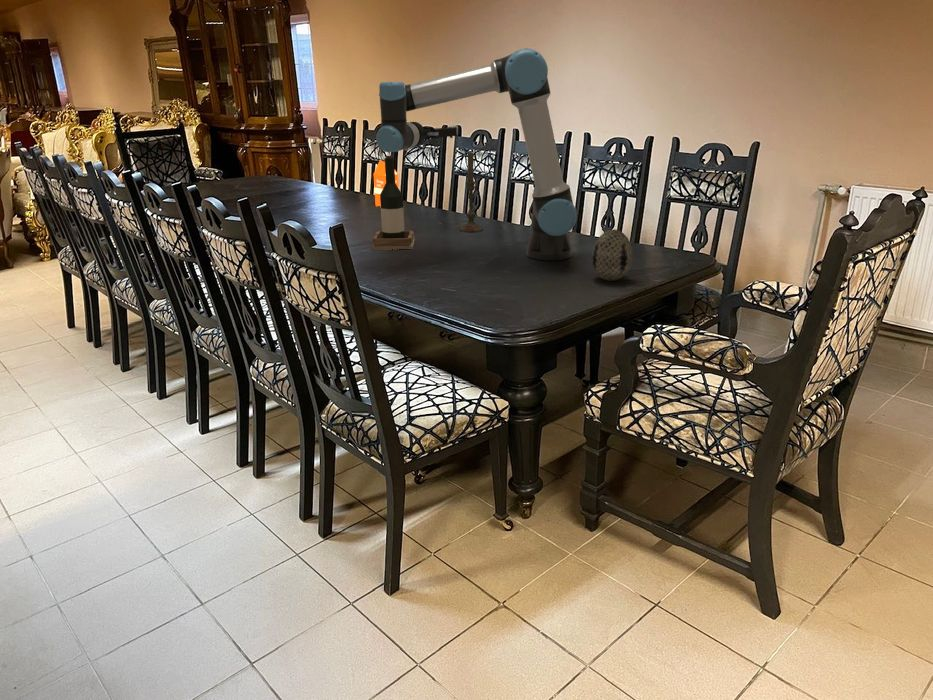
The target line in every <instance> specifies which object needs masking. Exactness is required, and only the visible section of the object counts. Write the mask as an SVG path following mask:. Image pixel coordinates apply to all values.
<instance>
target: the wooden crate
mask: <svg viewBox="0 0 933 700" xmlns="http://www.w3.org/2000/svg"><path fill="white" fill-rule="evenodd" d="M404 231H405V238H383V237H382V230H378V231H376V232H375V234H374V236H373V238H372V243H373V244H372V245H371V251H400V250H399V249H412V250H413V248H414V245H415V242H416V237H415V236H414V235H415V234H414V233H415V232H414V231H413V230H404ZM414 241H415V242H414ZM392 249H393V250H392ZM397 249H398V250H397Z"/></svg>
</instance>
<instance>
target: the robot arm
mask: <svg viewBox="0 0 933 700" xmlns="http://www.w3.org/2000/svg"><path fill="white" fill-rule="evenodd" d="M546 61H547V60H545V58H544V57H543V55H542V54H541V53H540V52H539V51H537V50H536V49H532V48H528V47H527V48H522V49H519V50H516V51H514V52H513V53H511V54H509V55H507V56H503V57H501V58H498V59H495V60H492V61H491V63H490V64H488V65H484V66H480V67H476V68H472V69H468V70H464V71H459V72H455V73H451V74H446V75H443V76H439V77H435V78H430V79H427V80H422V81H417V82H414V83H410V84H405V83H404V82H403V81H382V82H381V81H380V83H379V90H378V91H379V94H378V96H379V105H380V107H379V108H380V118H381V120H380V121H381V122H380V125H381V127H380V128H379V129H378V130H377V133H376V135H375V141H376V143H377V147H378V148H379V149H381V150H382V151H383V152H385V153H397V152H400V151H406V152H407V151H408V150H409V149H411V148H416V147H420V146H421V145H423V143H424V142H425V140H429V139H432V140H433V139H439V138H447V137H448V138H450V139H453V137H457V136H458V134H459V133H458V131H459V130H458V128H459V125H451V126H447V127H440V128H439V127H438V128H434V127H432V126H428V127H426V126H423V125H422V124H421V123H419V122H417V121H408V119H407V112H411V111H414V110H418V109H422V108H427V107H432V106H436V105H440V104H445V103H449V102H454V101H457V100H461V99H465V98H470V97H475V96H478V95H483V94H487V93H491V92H496V93H498V94H502V93H507V92H508V95H509V98H510V103H511V105H512V106H513V107H515V108H517V111H518V114H519V115H518V116H519V119H520V124H521V128H522V132H523V137H524V141H525V146H526V151H527V156H528V159H529V164H530V168H531V173H532V177H533V182H534V188H533V190H532V191H533V192H532V194H531V197H532V229H531V230H532V231H531V235H530V239H529V241H528V244H527V247H526V256H527V257H528V258H531V259H533V260H536V261H537V260H538V261H550V262H551V261H560V260H561V261H562V260H566V259H570V258H571V257H572V256H573V248H572V247H573V246H572V244H571V241H570V237H569V234H568V233H569V232H571V231H572V229H574V227H575V225H576V222H577V218H578V212H577V208H576V206H575V205H574V201H573V197H572V193H571V187H570V184H568V183H566V182H565V181H564V178H563V175H562V173H563V172H562V169H561V164H560V159H559V154H558V149H557V144H556V139H555V135H554V130H553V125H552V120H551V115H550V110H549V106H548V102H547V101H548V99H549V97H550V96H551V89H550V88H551V87H550V84H549V78H548V73H549V69H548V65H547V62H546Z"/></svg>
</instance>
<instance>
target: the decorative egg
mask: <svg viewBox="0 0 933 700" xmlns="http://www.w3.org/2000/svg"><path fill="white" fill-rule="evenodd" d="M633 257H634V256H633V248H632V245H631V242H630V240H629V238H628V237H627V236H626V234H625V233H624V232H622V231H621V230H618V229H609V230H606V231H604V232H603V233H602V234H601V235H599V237H598V238H597V239H596V241H595V243H594V246H593V249H592V252H591V265H592V269H593V271H594V273H595V274H596V276H598V277H599V278H600V279H602V280H604V281H608V282H613V281H618V280H620V279H622V278H624V276H626V275H627V274H628V272H629V271H630V269H631V266H632V263H633Z"/></svg>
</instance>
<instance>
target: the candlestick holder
mask: <svg viewBox="0 0 933 700" xmlns="http://www.w3.org/2000/svg"><path fill="white" fill-rule="evenodd" d="M476 183H477V181H475V180H474V152H471V151H469V152H467V181H465V184H466V190H467V191H468V197H467V198H468V207H469V209H468V212H466V217H467V219H468V222H467V223H465V224H463V225H462V226H461V227H460V228H459V231H460V232H462V231H463V233H479V231H480V232H482V231H484V229H483V227H482V226H480V225H479V224H478V223H476V222H475V220H474V219H475V218H476V212H474V198H475V197H474V190H476V186H475V185H476Z"/></svg>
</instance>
